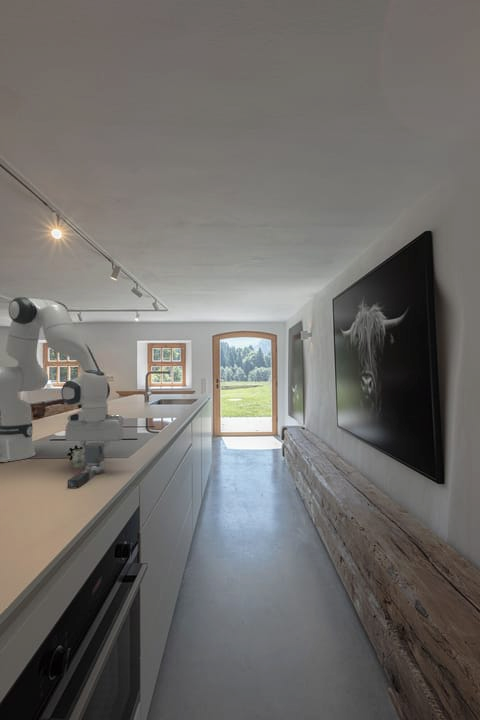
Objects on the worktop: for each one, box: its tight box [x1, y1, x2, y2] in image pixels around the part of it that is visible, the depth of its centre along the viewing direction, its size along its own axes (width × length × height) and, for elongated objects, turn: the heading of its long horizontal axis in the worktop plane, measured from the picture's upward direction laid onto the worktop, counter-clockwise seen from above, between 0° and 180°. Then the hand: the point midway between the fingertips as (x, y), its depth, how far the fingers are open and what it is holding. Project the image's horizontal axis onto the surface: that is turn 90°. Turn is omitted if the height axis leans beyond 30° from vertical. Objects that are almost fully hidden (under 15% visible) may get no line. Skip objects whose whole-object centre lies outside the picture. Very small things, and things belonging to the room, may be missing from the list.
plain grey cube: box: [84, 441, 106, 465], centre depth 128 cm, size 5×5×6 cm
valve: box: [66, 445, 85, 469], centre depth 139 cm, size 7×7×12 cm
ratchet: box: [67, 461, 106, 489], centre depth 121 cm, size 6×20×6 cm, turn 179°
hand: (94, 452), depth 128 cm, fingers closed on plain grey cube, 5 cm apart
